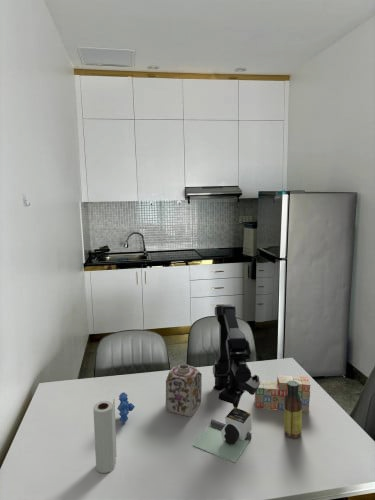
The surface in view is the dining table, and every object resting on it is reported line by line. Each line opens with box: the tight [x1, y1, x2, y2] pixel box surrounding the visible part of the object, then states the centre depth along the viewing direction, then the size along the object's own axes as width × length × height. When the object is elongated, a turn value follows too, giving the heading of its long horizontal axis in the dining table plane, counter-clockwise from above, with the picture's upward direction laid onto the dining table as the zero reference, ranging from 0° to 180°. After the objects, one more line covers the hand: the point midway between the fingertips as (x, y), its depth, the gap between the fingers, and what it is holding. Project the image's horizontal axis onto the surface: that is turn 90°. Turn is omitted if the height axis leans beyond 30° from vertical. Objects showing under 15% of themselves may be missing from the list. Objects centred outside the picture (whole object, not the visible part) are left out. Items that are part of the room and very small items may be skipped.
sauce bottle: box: [283, 381, 303, 439], centre depth 131 cm, size 6×6×20 cm
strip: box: [210, 419, 252, 441], centre depth 134 cm, size 16×1×2 cm, turn 59°
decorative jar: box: [165, 363, 203, 418], centre depth 148 cm, size 12×12×18 cm
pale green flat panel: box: [192, 426, 250, 464], centre depth 127 cm, size 16×12×1 cm
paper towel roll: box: [93, 399, 117, 474], centre depth 115 cm, size 7×6×21 cm
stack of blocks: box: [254, 375, 311, 414], centre depth 149 cm, size 21×6×12 cm, turn 82°
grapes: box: [117, 392, 136, 424], centre depth 139 cm, size 12×7×12 cm, turn 10°
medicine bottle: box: [220, 406, 252, 444], centre depth 130 cm, size 7×7×12 cm
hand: (235, 407), depth 136 cm, fingers closed
